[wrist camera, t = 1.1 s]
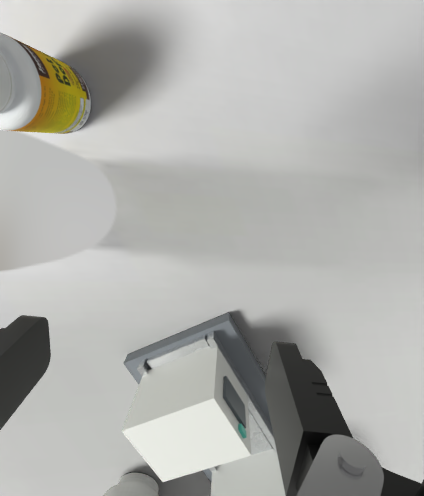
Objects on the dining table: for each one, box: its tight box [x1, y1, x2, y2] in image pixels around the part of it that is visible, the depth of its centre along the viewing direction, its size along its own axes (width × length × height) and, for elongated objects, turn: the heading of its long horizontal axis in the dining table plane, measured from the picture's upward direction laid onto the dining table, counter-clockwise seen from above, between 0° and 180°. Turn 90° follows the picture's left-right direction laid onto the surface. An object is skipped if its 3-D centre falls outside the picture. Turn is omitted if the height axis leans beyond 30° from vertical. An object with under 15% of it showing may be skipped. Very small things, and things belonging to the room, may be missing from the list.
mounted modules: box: [122, 346, 286, 496], centre depth 31 cm, size 23×9×7 cm, turn 28°
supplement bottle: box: [0, 33, 91, 134], centre depth 21 cm, size 6×6×10 cm
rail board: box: [123, 312, 272, 482], centre depth 36 cm, size 26×13×2 cm, turn 28°
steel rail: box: [137, 331, 277, 472], centre depth 34 cm, size 25×9×1 cm, turn 28°
